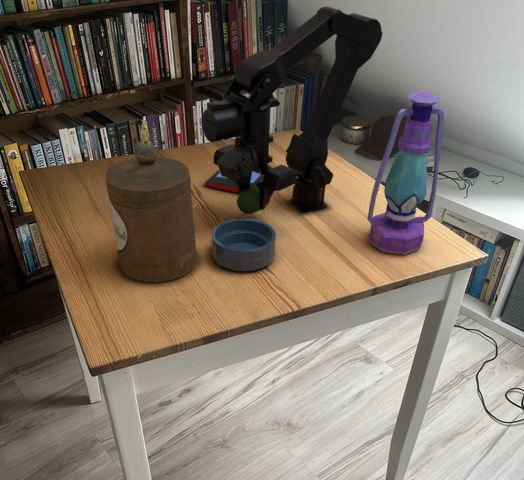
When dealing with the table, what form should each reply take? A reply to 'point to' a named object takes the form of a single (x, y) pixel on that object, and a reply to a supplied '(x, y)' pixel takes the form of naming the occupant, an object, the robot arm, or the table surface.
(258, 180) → the game console
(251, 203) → the green rounded cylinder
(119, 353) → the table surface
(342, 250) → the table surface
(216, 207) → the table surface
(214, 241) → the bowl
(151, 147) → the vegetable
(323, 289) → the table surface
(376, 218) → the lantern
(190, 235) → the wooden container
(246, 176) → the robot arm
